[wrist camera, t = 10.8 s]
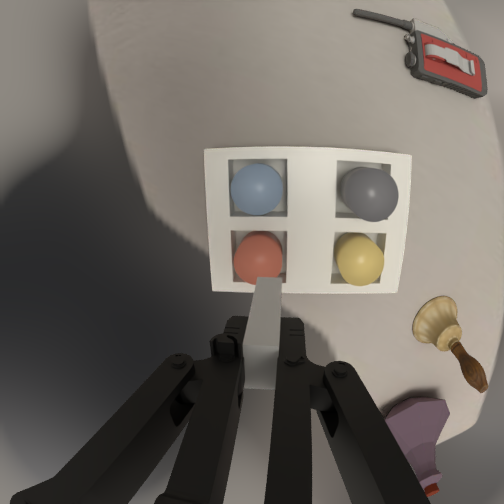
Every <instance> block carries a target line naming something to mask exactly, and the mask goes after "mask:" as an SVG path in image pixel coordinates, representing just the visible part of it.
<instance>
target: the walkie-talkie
mask: <svg viewBox="0 0 504 504" xmlns="http://www.w3.org/2000/svg"><path fill="white" fill-rule="evenodd" d="M353 13H354V15H356V16H360V17H365V18H370V19H374V20H378V21H382V22H386V23H390V24H394V25H397V26H401V27H402V28H404V29H408V30H410V35H405V40H407V41H408V43H409V52H408V53H407V55H406V60H405V61H406V65H407V66H408V67H410V69H411V75H412V76H413V77H415V78H419V79H422V80H425V81H428V82H431V83H434V84H437V85H440V86H444V87H447V88H450V89H453V90H454V91H455V90H456V92H459V93H462V94H465V95H468V96H470V97H471V98H472V97H473V98H474V99H475V98H479V97H483V96H485V95H486V94H487V79H486V71H485V64H484V62H483V60H482V59H481V58H480V57H479V56H477V55H476V54H474V53H471V52H470V51H468V50H465V49H463V48H462V47H459V46H456V45H455V44H453V43H452V40H450V39H449V38H448V37H447V36H446V35H445V34H444V33H443V32H442V31H441V30H440V29H439V28H437V27H434V26H432V25H429V24H426V23H424V22H421V21H419V20H417V19H414V18H413V19H412V20H411V21H410V22H409V21H406V20H400V19H396V18H393V17H389V16H386V15H382V14H378V13H374V12H369V11H365V10H360V9H354V11H353Z"/></svg>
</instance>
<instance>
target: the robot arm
mask: <svg viewBox="0 0 504 504" xmlns="http://www.w3.org/2000/svg"><path fill="white" fill-rule="evenodd" d="M281 295H282V278H277V277H257V281H256V286H255V291H254V295H253V300H252V304H251V309H250V314H249V317H245V316H232V317H231V318H230V319H229V320H228V321H227V324H226V327H225V329H224V333H223V334H219V335H216V336H214V337H213V338H212V339H211V340H210V347H211V355H212V356H211V357H210V358H207V359H204V360H196V361H193V359H192V358H191V356H189V355H187V354H183V353H178V354H173V355H171V356H169V357H168V358H166V359H165V361H164V362H163V363H162V364H161V365H160V366H159V367H158V368H157V369H156V370H155V371H154V372H153V373H152V374H151V376H150V377H149V378H148V379H147V380H146V381H145V382H144V383H143V384H142V385H141V386H140V387H139V388H138V389H137V391H135V393H134V394H133V395H132V396H131V397H130V398H129V399H128V400H127V401H126V402H125V403H124V404H123V405H122V406H121V407H120V408H119V409H118V411H117V412H116V413H115V414H114V415H113V416H112V417H111V418H110V419H109V420H108V421H107V422H106V423H105V424H104V425H103V426H102V427H101V428H100V430H99V431H98V432H97V433H96V434H95V435H94V436H93V437H92V438H91V439H90V440H89V441H88V442H87V443H86V444H85V445H84V446H83V447H82V448H81V449H80V450H79V451H78V453H77V454H76V455H75V456H74V457H73V458H72V459H71V460H70V461H69V462H68V463H67V464H66V465H65V466H64V467H63V468H62V469H61V470H60V471H59V472H58V473H57V474H56V475H55V476H54V477H53V478H51V479H49V480H47V481H44V482H42V483H40V484H37V485H35V486H32V487H30V488H28V489H25V490H23V491H20V492H18V493H16V494H15V495H13V496H12V498H11V500H10V504H128V503H129V501H130V500H131V499H132V497H133V496H134V495H135V494H136V492H137V491H138V490H139V488H140V487H141V486H142V484H143V483H144V482H145V481H146V479H147V478H148V477H149V475H150V474H151V472H152V471H153V470H154V469H155V467H156V466H157V464H158V463H159V462H160V460H161V459H162V457H163V456H164V455H165V454H166V452H167V451H168V449H169V448H170V447H171V445H172V444H173V442H174V441H175V440H176V438H177V437H178V436H179V434H180V433H181V431H182V430H183V428H184V427H185V425H186V424H187V423H188V421H189V423H188V426H187V429H186V432H185V435H184V438H183V441H182V444H181V446H180V449H179V453H178V455H177V458H176V461H175V464H174V467H173V470H172V473H171V476H170V479H169V482H168V485H167V488H166V490H165V492H164V493H163V494H161V495H159V496H158V497H157V498H156V500H155V503H154V504H223V501H224V496H225V490H226V485H227V481H228V475H229V470H230V465H231V460H232V455H233V450H234V445H235V439H236V434H237V428H238V423H239V417H240V413H241V407H242V402H243V387H244V386H245V388H251V389H268V390H275V398H274V410H273V422H272V433H271V444H270V454H269V464H268V474H267V483H266V492H265V501H264V504H312V437H311V408H312V409H316V410H317V414H318V417H319V419H320V422H321V425H322V427H323V430H324V432H325V435H326V438H327V440H328V443H329V445H330V448H331V450H332V453H333V456H334V458H335V461H336V463H337V466H338V469H339V471H340V474H341V476H342V479H343V481H344V484H345V487H346V489H347V492H348V494H349V497H350V500H351V502H352V504H430V501H429V500H428V498H427V496H426V494H425V492H424V490H423V488H422V486H421V485H420V483H419V481H418V479H417V477H416V475H415V474H414V472H413V470H412V468H411V466H410V464H409V462H408V461H407V459H406V457H405V455H404V453H403V452H402V450H401V448H400V446H399V445H398V443H397V441H396V439H395V437H394V436H393V434H392V432H391V430H390V429H389V427H388V425H387V423H386V422H385V420H384V418H383V416H382V415H381V413H380V411H379V409H378V408H377V406H376V404H375V403H374V401H373V399H372V397H371V396H370V394H369V392H368V391H367V389H366V387H365V386H364V384H363V382H362V381H361V379H360V377H359V375H358V374H357V372H356V370H355V369H354V367H353V366H352V365H351V364H349V363H347V362H343V361H334V362H331V363H329V364H328V365H327V366H326V367H324V366H319V365H316V364H314V363H312V362H310V361H309V360H308V358H307V356H306V349H305V336H304V335H305V334H304V323H303V322H302V321H301V319H300V318H285V317H284V318H282V317H281Z"/></svg>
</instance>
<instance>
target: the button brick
mask: <svg viewBox="0 0 504 504" xmlns="http://www.w3.org/2000/svg"><path fill="white" fill-rule="evenodd" d="M234 268H235V271H236V273H237V274H238V276H239V277H240V278H241V279H242V280H244V281H245V282H247V283H249V284H252V285H256V281H257V277H277V276H278V275H279V273H280V271H281V268H282V245H281V242H280V240H279V239H278V238H277V237H276V236H275V235H274V234H273V233H271V232H269V231H252V232H250V233H248V234H247V235H246V236H245V237H244V238H243V239H242V241H241V243H240V245H239V247H238V249H237V251H236V253H235V256H234Z"/></svg>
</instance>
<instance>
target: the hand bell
mask: <svg viewBox="0 0 504 504" xmlns="http://www.w3.org/2000/svg"><path fill="white" fill-rule="evenodd" d="M456 318H457V306H456V303H455V302H454V300H453V299H451V298H450V297H447V296H440V297H436V298H434V299H432V300H430V301H429V302H427V303H426V304H425V305H424V306H423V307H422V308H421V309H420V311H419V312H418V314H417V316H416V317H415V319H414V323H413V334H414V336H415V338H416V339H417V340H418V341H420V342H422V343H432V344H434V345H435V346H436V347H437V348H438V349H439V350H440V351H448V350H451V352H452V353H453V354H454V355H455V357H456V358H457V359H458V361H459V363H460V366H461V370H462V373H463V375H464V378H465V379H466V381H467V382H468V383H469V384H470V385H471V386H472V387H474V388H475V389H477V390H478V391H479V392H480V393H483V392H485V391H486V390H487V388H488V384H487V380H486V375H485V372H484V369H483V367H482V366H481V365H480V363H479V362H478V361H477V360H476V359H475V358H473V357H471V356H470V355H469V354H468V353H467V352H466V351H465V349H464V347H463V346H462V344H461V343H460V342H459V340H460V339H461V335H462V330H461V327H460V326H459V324H458V322H457V320H456Z"/></svg>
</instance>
